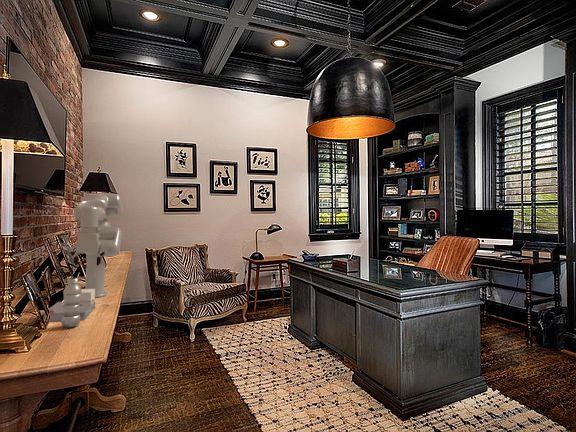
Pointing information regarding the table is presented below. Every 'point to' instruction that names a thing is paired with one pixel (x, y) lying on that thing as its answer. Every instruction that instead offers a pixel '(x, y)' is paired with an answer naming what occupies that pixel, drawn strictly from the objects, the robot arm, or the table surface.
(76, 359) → the table surface
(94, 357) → the table surface
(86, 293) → the plug
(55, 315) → the socket
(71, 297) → the plastic bottle
